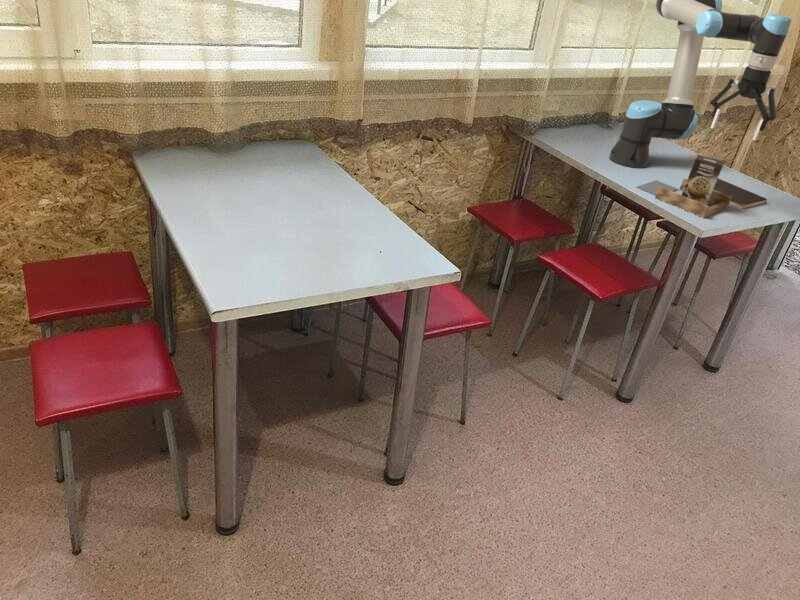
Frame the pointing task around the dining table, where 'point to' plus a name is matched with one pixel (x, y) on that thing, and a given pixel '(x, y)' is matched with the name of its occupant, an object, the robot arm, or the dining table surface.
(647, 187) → the mat
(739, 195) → the hardcover book
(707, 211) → the shelf lane
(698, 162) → the coffee box
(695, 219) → the dining table surface
